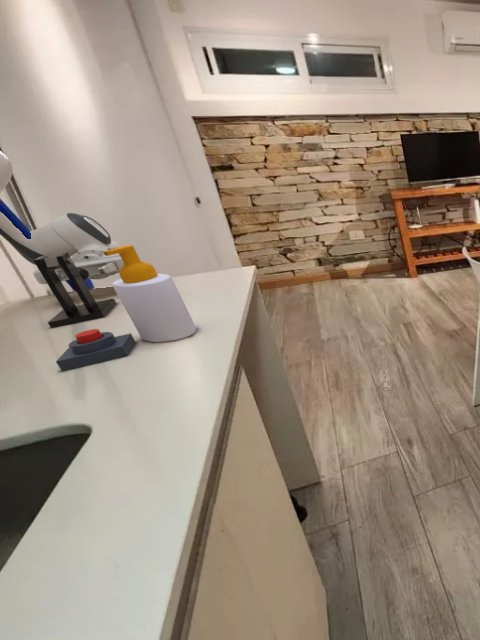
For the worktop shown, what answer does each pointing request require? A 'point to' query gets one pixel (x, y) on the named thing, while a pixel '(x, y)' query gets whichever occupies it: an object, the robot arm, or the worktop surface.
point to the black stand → (70, 311)
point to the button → (88, 336)
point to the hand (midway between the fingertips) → (79, 274)
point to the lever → (55, 265)
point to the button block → (95, 351)
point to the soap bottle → (151, 299)
